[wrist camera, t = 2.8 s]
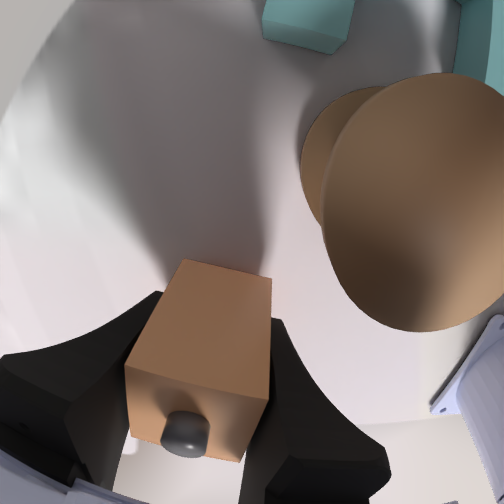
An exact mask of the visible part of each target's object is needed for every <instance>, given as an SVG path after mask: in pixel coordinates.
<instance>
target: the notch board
mask: <svg viewBox="0 0 504 504" xmlns="http://www.w3.org/2000/svg"><path fill="white" fill-rule="evenodd" d="M455 1H457V2H458V3H460V4H462V6H461V17H460V26H459V34H458V42H457V49H456V55H455V62H454V67H453V73H454V74H459V75H465V76H468V77H471V78H474V79H477V80H479V81H481V82H483V83H485V84H487V85H489V86H490V87H492V88H494V89H495V90H496V91H497V92H499V93H500V94H501V95H503V96H504V0H455ZM354 4H355V0H266V4H265V8H264V11H263V15H262V19H261V20H262V30H263V39H268V40H273V41H278V42H282V43H287V44H291V45H295V46H299V47H303V48H307V49H311V50H314V51H318V52H322V53H325V54H328V55H332V54H333V53H334V52H335V51H336V50H337V49H338V48H339V47H340V46H341V45H342V44H344V43H345V42H346V41H347V36H348V32H349V27H350V23H351V18H352V14H353V9H354Z"/></svg>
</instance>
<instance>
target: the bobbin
mask: <svg viewBox="0 0 504 504" xmlns="http://www.w3.org/2000/svg"><path fill="white" fill-rule="evenodd" d="M300 173H301V182H302V187H303V191H304V194H305V197H306V200H307V202H308V205H309V207H310V209H311V211H312V213H313V215H314V217H315V218H316V220H317V221H318V223H319V224H320V226H321V228H322V234H323V240H324V243H325V246H326V250H327V253H328V256H329V259H330V261H331V264H332V267H333V269H334V271H335V274H336V276H337V278H338V280H339V282H340V284H341V286H342V287H343V289H344V290H345V292H346V293H347V295H348V297H349V298H350V299H351V300H352V301H353V302H354V303H355V304H356V306H357V307H358V308H359V309H361V310H362V311H363V312H364V313H365V314H367V315H368V316H369V317H371V318H372V319H374V320H376V321H378V322H379V323H381V324H383V325H386V326H389V327H391V328H394V329H398V330H403V331H409V332H432V331H438V330H443V329H447V328H450V327H453V326H456V325H459V324H461V323H463V322H466V321H468V320H470V319H471V318H473V317H475V316H476V315H478V314H480V313H481V312H483V311H484V310H485V309H487V308H488V307H489V306H491V305H492V304H493V303H494V302H495V301H496V300H497V299H498V298H500V297H501V296H502V295H503V293H504V96H503V95H501V94H500V93H499V92H497V91H496V90H495V89H494V88H492V87H490V86H489V85H487V84H485V83H483V82H481V81H479V80H477V79H474V78H471V77H468V76H465V75H459V74H454V73H432V74H427V75H422V76H417V77H412V78H407V79H404V80H401V81H398V82H396V83H393V84H391V85H389V86H387V87H369V88H365V89H361V90H357V91H353V92H350V93H348V94H346V95H343V96H341V97H340V98H338V99H337V100H335V101H333V102H332V103H331V104H330V105H328V106H327V107H326V108H325V109H324V110H323V111H322V112H321V113H320V114H319V116H318V117H317V118H316V120H315V121H314V123H313V124H312V126H311V127H310V129H309V132H308V134H307V136H306V138H305V141H304V145H303V148H302V154H301V162H300Z"/></svg>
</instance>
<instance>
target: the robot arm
mask: <svg viewBox="0 0 504 504" xmlns="http://www.w3.org/2000/svg"><path fill="white" fill-rule="evenodd" d="M163 293H164V292H160V291H155V292H153V293H152V294H150V295H149V296H147V297H146V298H145V299H143V300H142V301H140V302H139V303H138V304H136V305H135V306H133V307H132V308H130V309H129V310H127V311H126V312H124V313H123V314H121V315H120V316H118V317H117V318H115V319H113V320H112V321H110V322H108V323H106V324H105V325H103V326H101V327H99V328H97V329H95V330H93V331H91V332H89V333H87V334H85V335H82V336H80V337H77V338H75V339H72V340H69V341H66V342H63V343H61V344H57V345H54V346H50V347H47V348H43V349H38V350H34V351H28V352H21V353H14V354H6V355H3V356H2V357H1V359H0V504H149V503H146V502H142V501H139V500H136V499H133V498H129V497H127V496H123V495H121V494H117V493H115V492H112V489H113V485H114V480H115V476H116V472H117V468H118V464H119V461H120V457H121V453H122V450H123V446H124V443H125V440H126V437H127V433H128V430H129V427H130V425H129V416H128V406H127V395H126V383H125V367H124V364H125V362H126V360H127V359H128V357H129V355H130V353H131V351H132V349H133V347H134V345H135V344H136V342H137V340H138V338H139V336H140V334H141V332H142V331H143V329H144V327H145V325H146V323H147V322H148V320H149V318H150V316H151V314H152V313H153V311H154V309H155V307H156V305H157V304H158V302H159V300H160V298H161V297H162V295H163ZM430 412H431V414H432V415H442V414H462V416H463V418H464V421H465V423H466V425H467V427H468V430H469V432H470V434H471V437H472V439H473V441H474V444H475V446H476V448H477V451H478V453H479V456H480V458H481V461H482V463H483V466H484V468H485V471H486V474H487V476H488V479H489V481H490V485H491V487H492V490H493V493H494V496H495V499H496V502H497V503H498V504H504V315H500V314H498V315H495V316H494V317H492V319H491V320H490V321H489V323H488V325H487V327H486V328H485V330H484V332H483V333H482V335H481V337H480V338H479V340H478V341H477V343H476V345H475V346H474V348H473V349H472V351H471V352H470V354H469V355H468V357H467V358H466V360H465V361H464V363H463V364H462V366H461V367H460V369H459V370H458V371H457V373H456V374H455V376H454V377H453V378H452V380H451V381H450V382H449V384H448V385H447V387H446V388H445V389H444V390H443V392H442V393H441V394H440V396H439V397H438V398H437V399H436V401H435V402H434V403H433V404H432V406H431V407H430ZM390 478H391V470H390V466H389V460H388V457H387V453H386V450H385V448H384V447H383V446H382V445H380V444H379V443H378V442H376V441H375V440H373V439H372V438H370V437H369V436H367V435H366V434H365V433H364V432H362V431H361V430H360V429H358V428H357V427H356V426H355V425H354V424H353V423H352V422H350V421H349V420H348V419H347V418H346V417H345V416H344V415H343V414H342V413H341V412H340V411H339V410H338V409H337V408H336V407H335V406H334V405H333V404H332V403H331V402H330V400H329V399H328V398H327V397H326V396H325V395H324V393H323V392H322V391H321V390H320V388H319V387H318V386H317V384H316V383H315V382H314V380H313V379H312V377H311V376H310V374H309V372H308V371H307V369H306V368H305V366H304V364H303V362H302V361H301V359H300V357H299V355H298V353H297V351H296V350H295V348H294V346H293V344H292V341H291V339H290V337H289V335H288V333H287V330H286V328H285V326H284V323H283V321H282V320H281V319H276V318H272V317H271V338H270V372H269V400H268V402H267V404H266V407H265V409H264V411H263V414H262V416H261V418H260V420H259V423H258V425H257V427H256V429H255V431H254V434H253V436H252V438H251V440H250V442H249V444H248V447H247V450H246V458H245V465H244V471H243V478H242V484H241V490H240V496H239V502H238V504H369V498H370V497H371V496H372V495H374V494H375V493H376V492H377V491H379V490H380V489H381V488H382V487H384V486H385V485H386V483H387V482H388V481H389V480H390ZM444 504H458V501H452V502H448V503H444Z"/></svg>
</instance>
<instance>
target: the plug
mask: <svg viewBox="0 0 504 504" xmlns="http://www.w3.org/2000/svg"><path fill="white" fill-rule="evenodd" d="M271 295H272V279H271V278H267V277H262V276H258V275H253V274H249V273H245V272H240V271H236V270H232V269H227V268H223V267H219V266H214V265H210V264H206V263H202V262H198V261H193V260H189V259H185V258H184V259H183V260H182V262H181V264H180V265H179V267H178V269H177V270H176V272H175V274H174V276H173V277H172V279H171V281H170V283H169V284H168V286H167V288H166V289H165V291H164V293H163V295H162V297H161V298H160V300H159V302H158V304H157V305H156V307H155V309H154V311H153V313H152V314H151V316H150V318H149V320H148V322H147V323H146V325H145V327H144V329H143V331H142V332H141V334H140V336H139V338H138V340H137V342H136V344H135V345H134V347H133V349H132V351H131V353H130V355H129V357H128V359H127V360H126V362H125V364H124V367H125V383H126V395H127V406H128V416H129V425H130V433H131V437H134V438H138V439H141V440H144V441H147V442H151V443H154V444H158V445H161V446H163V447H164V448H165V449H166V450H168V451H169V452H171V453H173V454H175V455H178V456H181V457H187V458H198V457H201V456H206V457H211V458H216V459H221V460H226V461H233V462H238V463H240V461H241V459H242V457H243V455H244V453H245V451H246V449H247V447H248V444H249V442H250V440H251V438H252V436H253V434H254V431H255V429H256V427H257V425H258V423H259V420H260V418H261V416H262V414H263V411H264V409H265V407H266V404H267V402H268V400H269V372H270V338H271Z"/></svg>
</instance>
